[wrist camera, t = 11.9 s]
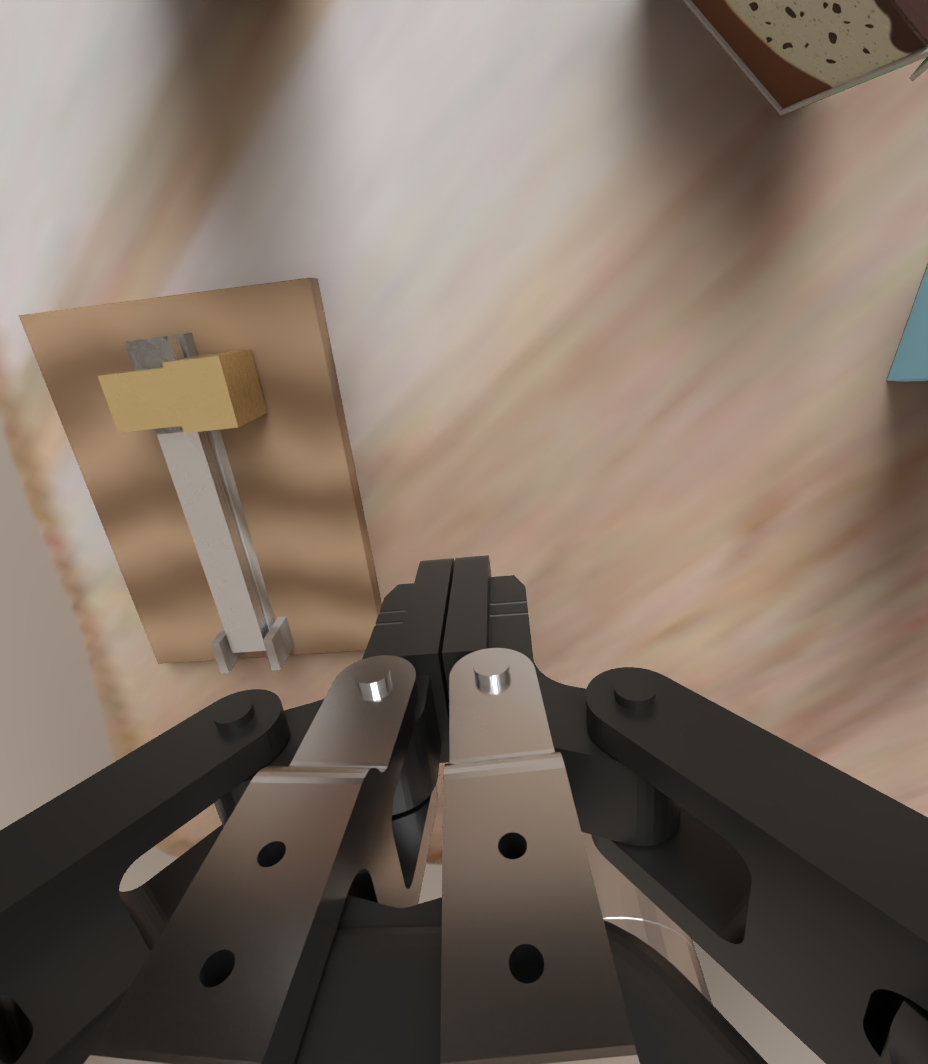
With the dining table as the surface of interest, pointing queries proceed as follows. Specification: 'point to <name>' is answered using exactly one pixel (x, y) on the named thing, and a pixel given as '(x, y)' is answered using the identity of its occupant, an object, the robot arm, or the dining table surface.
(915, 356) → the light blue flared block
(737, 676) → the dining table surface
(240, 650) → the tongs upper arm
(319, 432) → the wooden board with rail
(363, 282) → the dining table surface
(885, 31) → the food container
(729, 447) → the dining table surface
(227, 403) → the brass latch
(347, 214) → the dining table surface
